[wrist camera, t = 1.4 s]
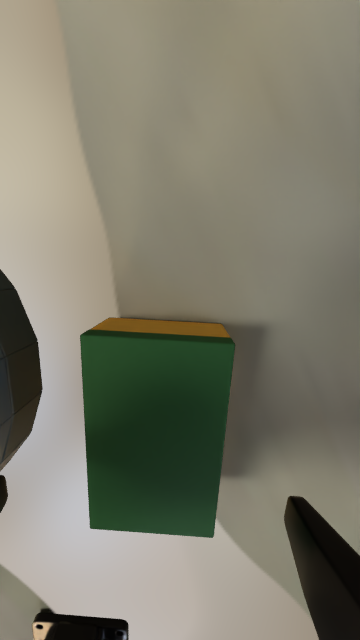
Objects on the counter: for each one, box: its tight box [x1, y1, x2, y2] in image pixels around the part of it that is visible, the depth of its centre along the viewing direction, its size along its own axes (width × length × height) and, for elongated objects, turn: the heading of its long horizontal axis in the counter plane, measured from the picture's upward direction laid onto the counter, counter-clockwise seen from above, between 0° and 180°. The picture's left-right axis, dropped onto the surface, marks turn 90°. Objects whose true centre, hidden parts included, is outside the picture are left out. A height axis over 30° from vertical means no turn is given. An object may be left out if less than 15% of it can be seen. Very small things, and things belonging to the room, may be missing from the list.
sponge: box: [80, 318, 235, 538], centre depth 10 cm, size 9×6×3 cm, turn 177°
